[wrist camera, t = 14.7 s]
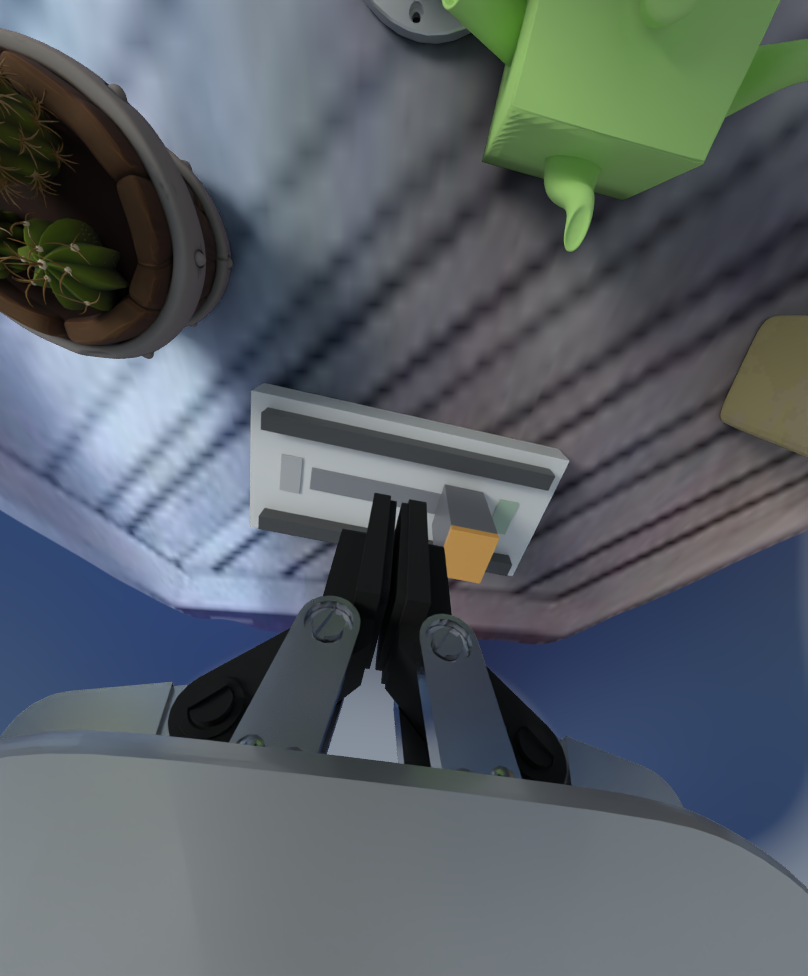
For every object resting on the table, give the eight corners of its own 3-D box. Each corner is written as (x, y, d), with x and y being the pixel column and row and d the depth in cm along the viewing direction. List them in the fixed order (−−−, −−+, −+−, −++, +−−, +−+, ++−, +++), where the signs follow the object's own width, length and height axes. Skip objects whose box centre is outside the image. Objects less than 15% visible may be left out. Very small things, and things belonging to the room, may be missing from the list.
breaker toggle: (444, 484, 35) (451, 529, 28) (483, 492, 35) (499, 538, 28) (431, 524, 37) (435, 575, 30) (468, 532, 37) (479, 583, 31)
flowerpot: (249, 365, 33) (63, 447, 15) (73, 302, 31) (-379, 312, 13) (277, 175, 26) (1, -65, 9) (54, 76, 24) (-917, -513, 6)
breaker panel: (263, 382, 34) (243, 394, 30) (558, 448, 36) (576, 468, 32) (260, 511, 41) (243, 535, 37) (506, 559, 43) (515, 586, 39)
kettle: (712, 143, 25) (907, 46, 15) (527, 278, 29) (584, 271, 19) (647, -161, 19) (892, -641, 9) (427, 63, 23) (437, -103, 13)
